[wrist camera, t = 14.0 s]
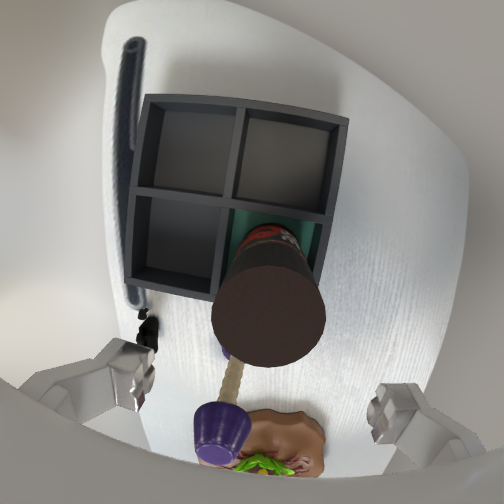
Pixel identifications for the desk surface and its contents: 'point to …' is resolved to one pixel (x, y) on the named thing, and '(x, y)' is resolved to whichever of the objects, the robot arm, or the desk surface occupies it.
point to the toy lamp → (222, 420)
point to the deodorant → (268, 300)
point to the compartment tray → (226, 186)
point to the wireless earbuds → (148, 331)
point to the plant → (280, 446)
